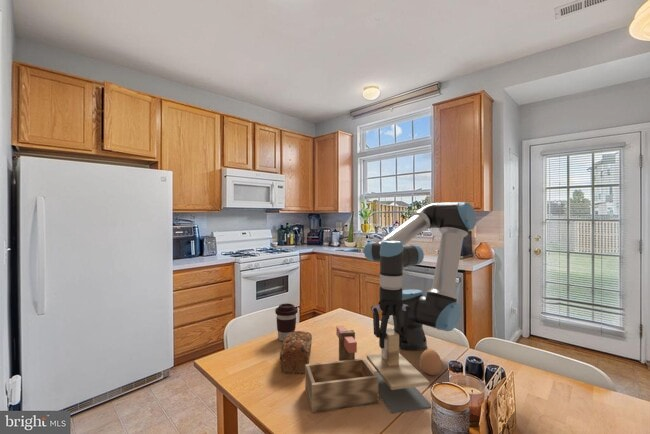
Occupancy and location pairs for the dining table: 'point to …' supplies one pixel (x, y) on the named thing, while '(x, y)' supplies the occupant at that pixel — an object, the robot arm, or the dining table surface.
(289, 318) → the coffee cup
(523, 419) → the dining table surface
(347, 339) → the red block
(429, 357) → the egg
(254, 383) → the dining table surface
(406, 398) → the mat
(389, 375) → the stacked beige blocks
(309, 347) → the bread
